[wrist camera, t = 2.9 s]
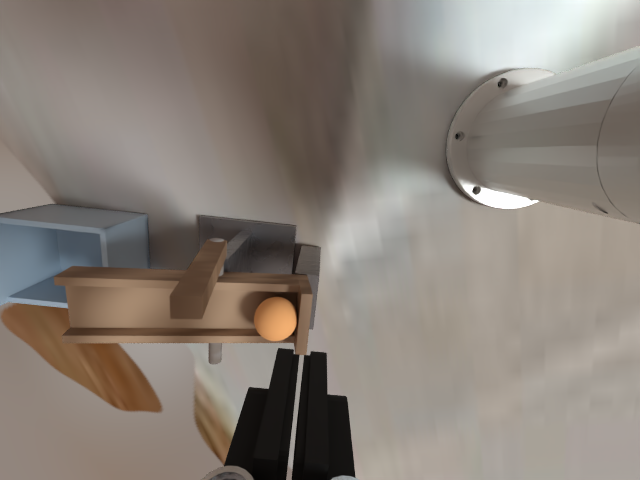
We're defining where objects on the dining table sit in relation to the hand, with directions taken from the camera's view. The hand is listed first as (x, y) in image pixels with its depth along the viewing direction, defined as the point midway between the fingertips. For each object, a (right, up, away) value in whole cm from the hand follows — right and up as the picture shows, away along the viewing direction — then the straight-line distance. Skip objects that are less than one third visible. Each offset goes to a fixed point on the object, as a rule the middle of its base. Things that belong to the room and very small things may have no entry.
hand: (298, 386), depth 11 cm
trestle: (-6, +3, +23) cm, 24 cm away
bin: (-23, +4, +23) cm, 33 cm away
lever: (-9, 0, +14) cm, 16 cm away
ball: (-3, -1, +12) cm, 13 cm away
